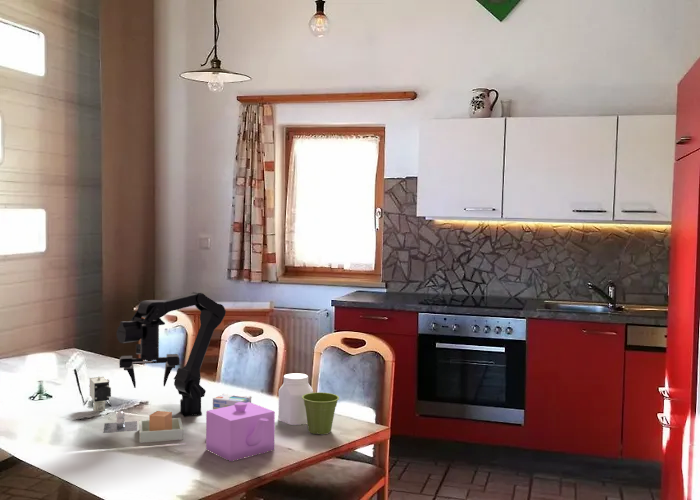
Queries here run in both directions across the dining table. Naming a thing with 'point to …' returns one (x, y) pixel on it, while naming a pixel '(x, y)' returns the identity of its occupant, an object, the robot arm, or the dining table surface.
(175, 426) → the tray
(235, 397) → the light bulb box
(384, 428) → the dining table surface
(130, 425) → the stud plate
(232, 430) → the lilac knobbed box
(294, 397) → the jar
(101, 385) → the pneumatic valve
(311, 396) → the plant pot
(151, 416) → the terracotta orange cube
